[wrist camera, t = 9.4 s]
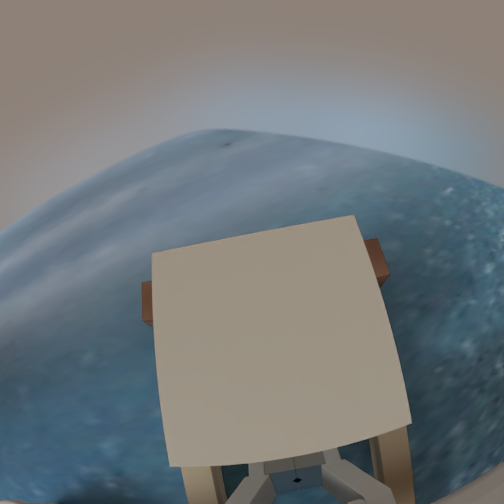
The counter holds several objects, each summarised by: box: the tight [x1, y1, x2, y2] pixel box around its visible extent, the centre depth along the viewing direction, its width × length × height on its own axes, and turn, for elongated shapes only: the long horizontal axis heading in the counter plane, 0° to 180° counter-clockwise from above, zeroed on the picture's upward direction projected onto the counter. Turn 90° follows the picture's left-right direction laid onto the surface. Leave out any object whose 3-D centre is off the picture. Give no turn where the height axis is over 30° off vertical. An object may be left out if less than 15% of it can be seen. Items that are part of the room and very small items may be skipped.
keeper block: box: [152, 215, 412, 467], centre depth 10 cm, size 5×5×10 cm
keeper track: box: [142, 238, 415, 504], centre depth 10 cm, size 24×12×4 cm, turn 9°
